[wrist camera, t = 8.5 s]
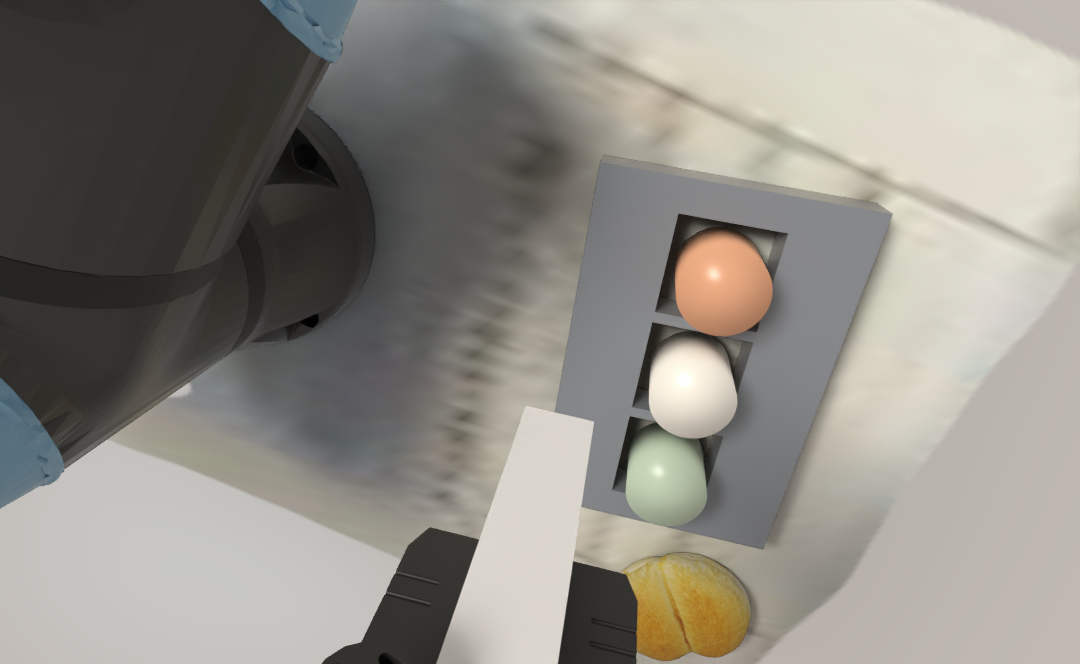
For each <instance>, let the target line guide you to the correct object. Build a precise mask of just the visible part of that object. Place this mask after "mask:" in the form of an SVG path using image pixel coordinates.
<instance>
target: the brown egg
mask: <svg viewBox="0 0 1080 664" xmlns="http://www.w3.org/2000/svg"><path fill="white" fill-rule="evenodd" d="M674 272H675V290H676V302H677V306H678V308H679V311H680V313H681V315H682V316H683V318H684V319H685V320H686V321H687V322H688V323H689V324H690V325H691V326H692V327H694V328H695V329H697V330H699V331H700V332H703V333H705V334H709V335H714V336H730V335H735V334H738V333H741V332H744V331H746V330H748V329H750V328H751V327H753V326H754V325H755V324H756V323H758V322H759V321H760V320H761V319H762V317H763V316H764V315H765V313H766V312H767V310H768V308H769V306H770V303H771V299H772V293H773V286H772V280H771V277H770V274H769V272H768V270H767V268H766V266H765V264H764V262H763V260H762V258H761V256H760V254H759V252H758V250H757V248H756V246H755V244H754V243H753V242H752V241H751V240H750V238H749V237H747V236H746V235H745V234H743V233H742V232H740V231H738V230H735V229H732V228H728V227H712V228H707V229H704V230H702V231H699V232H697V233H696V234H694V235H693V236H691V237H690V238H689V239H688V240H687V241H686V242H685V243H684V244H683V245H682V247H681V248H680V250H679V252H678V254H677V257H676V260H675V267H674Z"/></svg>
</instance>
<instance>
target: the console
mask: <svg viewBox="0 0 1080 664" xmlns="http://www.w3.org/2000/svg"><path fill="white" fill-rule="evenodd" d="M678 213H679V214H684V215H690V216H695V217H701V218H706V219H711V220H717V221H722V222H728V223H733V224H739V225H744V226H749V227H755V228H760V229H766V230H771V231H777V234H776V237H775V240H774V243H773V247H772V250H771V253H770V256H769V260H768V263H767V266H766V268H767V270H768V272H769V274H770V277H771V280H772V286H773V293H772V299H771V303H770V306H769V308H768V310H767V312H766V313H765V315H764V316H763V317H762V319H761V320H760V321H759V322H758V323H756V324H755V325H754V326H753V327H751V328H750V329H748V330H746V331H744V332H741V333H738V334H735V335H730V336H723V337H728V338H733V339H738V340H743V343H742V346H741V349H740V353H739V356H738V359H737V362H736V366H735V369H734V372H733V375H732V376H733V380H734V385H735V389H736V394H737V408H736V411H735V414H734V416H733V418H732V420H731V421H730V422H729V423H728V425H726V426H725V427H724V428H723V429H722V430H720V431H719V432H717V433H715V434H714V436H713V439H712V443H711V446H710V449H709V452H708V455H707V459H706V462H705V465H704V469H705V479H706V489H707V501H706V504H705V507H704V509H703V510H702V512H701V513H700V514H699V515H698V516H697V517H696V518H694V519H693V520H691V521H689V522H687V523H685V524H682V525H678V526H665V527H669V528H673V529H678V530H682V531H686V532H690V533H695V534H699V535H703V536H707V537H712V538H716V539H720V540H725V541H729V542H733V543H737V544H742V545H746V546H750V547H754V548H759V549H764V546H765V543H766V541H767V538H768V536H769V533H770V530H771V528H772V525H773V523H774V520H775V517H776V515H777V512H778V510H779V507H780V505H781V502H782V499H783V497H784V494H785V492H786V489H787V486H788V484H789V481H790V479H791V476H792V473H793V471H794V468H795V466H796V463H797V460H798V458H799V455H800V453H801V450H802V448H803V445H804V442H805V440H806V437H807V435H808V432H809V429H810V427H811V424H812V422H813V419H814V416H815V414H816V411H817V409H818V406H819V404H820V401H821V398H822V396H823V393H824V391H825V388H826V385H827V383H828V380H829V378H830V375H831V372H832V370H833V367H834V365H835V362H836V360H837V357H838V354H839V352H840V349H841V347H842V344H843V341H844V339H845V336H846V334H847V331H848V328H849V326H850V323H851V321H852V318H853V316H854V313H855V310H856V308H857V305H858V303H859V300H860V297H861V295H862V292H863V290H864V287H865V284H866V282H867V279H868V277H869V274H870V272H871V269H872V266H873V264H874V261H875V259H876V256H877V253H878V251H879V248H880V246H881V243H882V240H883V238H884V235H885V233H886V230H887V227H888V225H889V222H890V220H891V217H892V215H893V214H892V213H891V212H889V211H888V210H886V209H885V208H883V207H882V206H880V205H879V204H878V203H873V202H867V201H862V200H856V199H851V198H845V197H839V196H834V195H828V194H822V193H817V192H811V191H805V190H800V189H794V188H788V187H783V186H777V185H771V184H766V183H760V182H754V181H749V180H743V179H737V178H732V177H726V176H720V175H715V174H709V173H703V172H698V171H692V170H686V169H681V168H675V167H669V166H664V165H658V164H652V163H647V162H641V161H636V160H630V159H624V158H619V157H613V156H607V155H604V156H603V158H602V160H601V161H600V166H599V171H598V177H597V182H596V188H595V193H594V199H593V204H592V210H591V215H590V221H589V227H588V232H587V238H586V243H585V249H584V254H583V260H582V265H581V271H580V276H579V282H578V287H577V293H576V298H575V304H574V309H573V315H572V320H571V326H570V332H569V337H568V343H567V348H566V354H565V359H564V365H563V370H562V376H561V381H560V387H559V392H558V398H557V403H556V409H555V413H560V414H564V415H568V416H573V417H577V418H581V419H585V420H590V421H594V426H593V432H592V439H591V445H590V452H589V459H588V465H587V472H586V479H585V485H584V492H583V499H582V505H581V507H584V508H588V509H592V510H597V511H601V512H605V513H609V514H614V515H618V516H622V517H627V518H631V519H635V520H639V521H644V522H647V521H645V520H643V519H642V518H640V517H639V516H638V515H637V514H636V513H635V512H634V511H633V510H632V509H631V507H630V506H629V504H628V501H627V498H626V481H627V470H625V469H621V468H617V467H618V463H619V459H620V455H621V450H622V446H623V442H624V438H625V434H626V430H627V426H628V421H629V417H630V416H632V417H637V418H641V419H646V420H650V421H655V422H656V420H655V419H654V417H653V415H652V413H651V411H650V407H649V391H648V390H643V389H639V388H637V384H638V380H639V376H640V371H641V367H642V363H643V359H644V355H645V351H646V347H647V342H648V338H649V334H650V330H651V326H652V322H654V323H659V324H664V325H669V326H674V327H679V328H683V329H688V330H693V331H698V332H700V331H699V330H697V329H695V328H694V327H692V326H691V325H690V324H689V323H688V322H687V321H686V320H685V319H684V318H683V316H682V315H681V313H680V311H679V308H678V306H677V302H676V301H675V300H670V299H665V298H660V297H659V292H660V288H661V284H662V280H663V276H664V272H665V268H666V263H667V259H668V255H669V251H670V247H671V243H672V238H673V234H674V230H675V226H676V222H677V218H678ZM648 523H650V522H648Z"/></svg>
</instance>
